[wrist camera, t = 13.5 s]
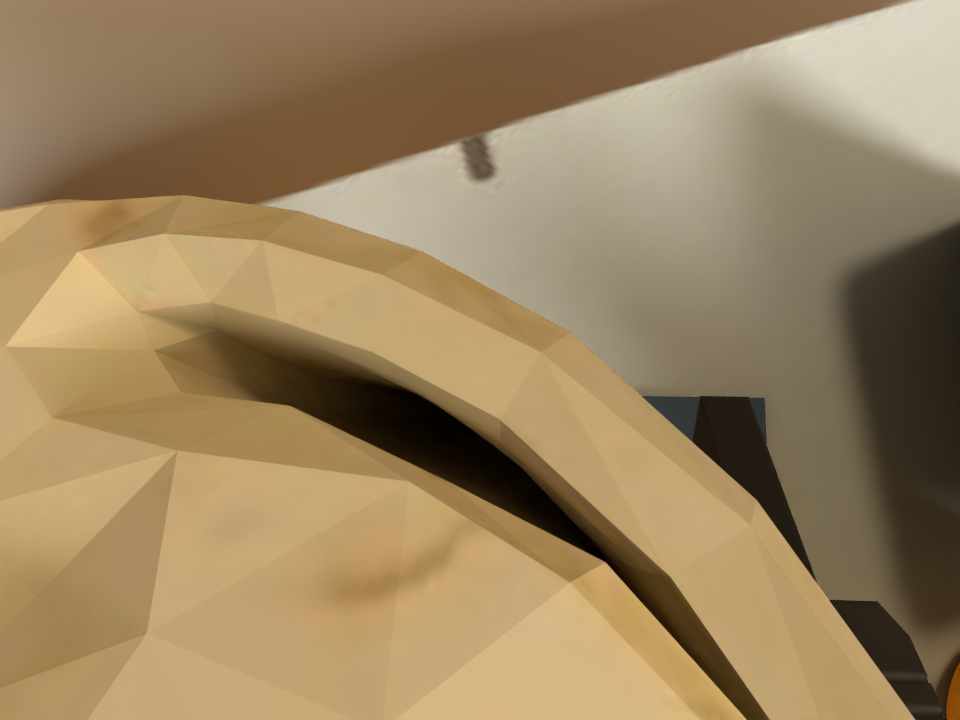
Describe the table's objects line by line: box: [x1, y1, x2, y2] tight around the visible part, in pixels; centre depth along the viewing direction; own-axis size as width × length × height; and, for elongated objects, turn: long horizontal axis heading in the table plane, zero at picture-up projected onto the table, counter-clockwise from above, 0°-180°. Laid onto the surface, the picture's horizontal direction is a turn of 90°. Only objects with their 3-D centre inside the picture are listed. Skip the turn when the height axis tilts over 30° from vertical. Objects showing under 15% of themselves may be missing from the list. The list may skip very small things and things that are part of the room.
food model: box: [0, 195, 915, 720], centre depth 11 cm, size 10×7×20 cm
